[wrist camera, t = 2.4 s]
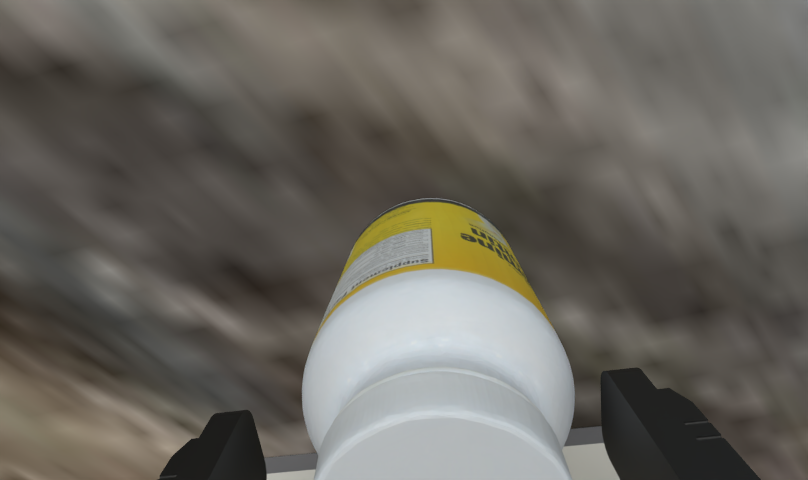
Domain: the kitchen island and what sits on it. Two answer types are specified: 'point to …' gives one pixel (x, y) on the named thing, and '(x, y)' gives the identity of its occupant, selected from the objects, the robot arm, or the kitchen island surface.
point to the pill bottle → (436, 358)
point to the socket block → (581, 451)
